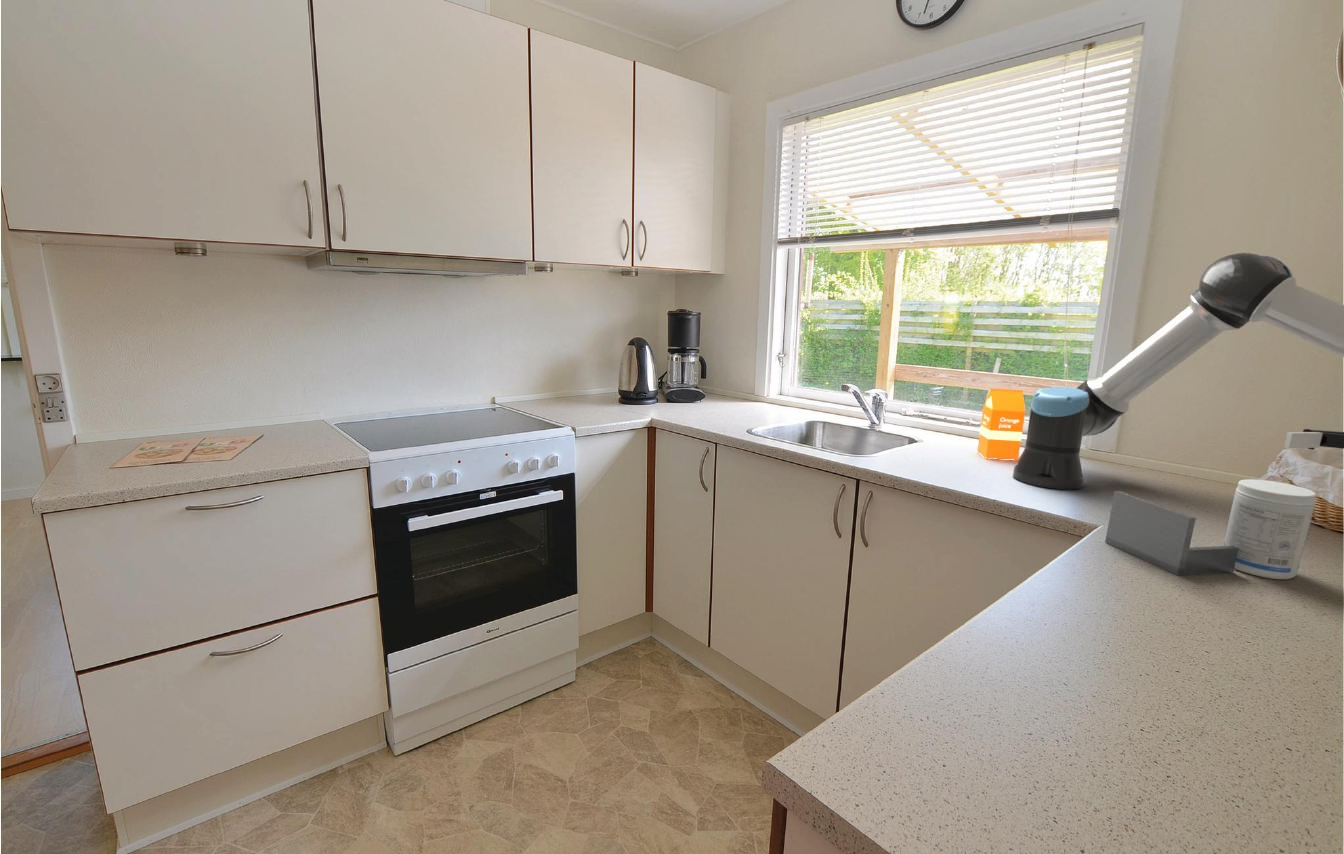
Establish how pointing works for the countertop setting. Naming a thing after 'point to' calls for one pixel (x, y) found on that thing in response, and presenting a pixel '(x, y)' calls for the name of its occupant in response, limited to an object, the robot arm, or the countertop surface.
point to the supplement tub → (1269, 527)
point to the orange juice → (1002, 424)
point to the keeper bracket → (1163, 538)
